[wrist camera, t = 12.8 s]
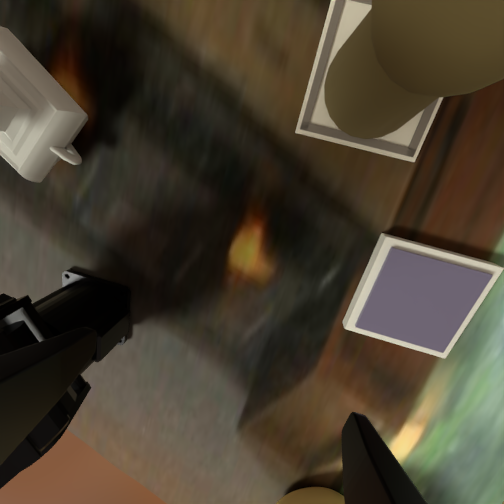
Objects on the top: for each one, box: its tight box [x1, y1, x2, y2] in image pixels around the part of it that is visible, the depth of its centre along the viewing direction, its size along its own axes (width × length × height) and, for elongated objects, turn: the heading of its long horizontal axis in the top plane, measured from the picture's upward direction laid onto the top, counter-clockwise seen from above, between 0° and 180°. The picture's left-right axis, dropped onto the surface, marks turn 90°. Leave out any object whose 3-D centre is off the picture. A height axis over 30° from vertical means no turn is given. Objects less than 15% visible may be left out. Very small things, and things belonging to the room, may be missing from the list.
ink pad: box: [343, 233, 504, 358], centre depth 20 cm, size 8×8×1 cm
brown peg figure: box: [324, 0, 504, 139], centre depth 11 cm, size 6×6×11 cm
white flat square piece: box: [295, 0, 443, 162], centre depth 16 cm, size 8×8×1 cm
